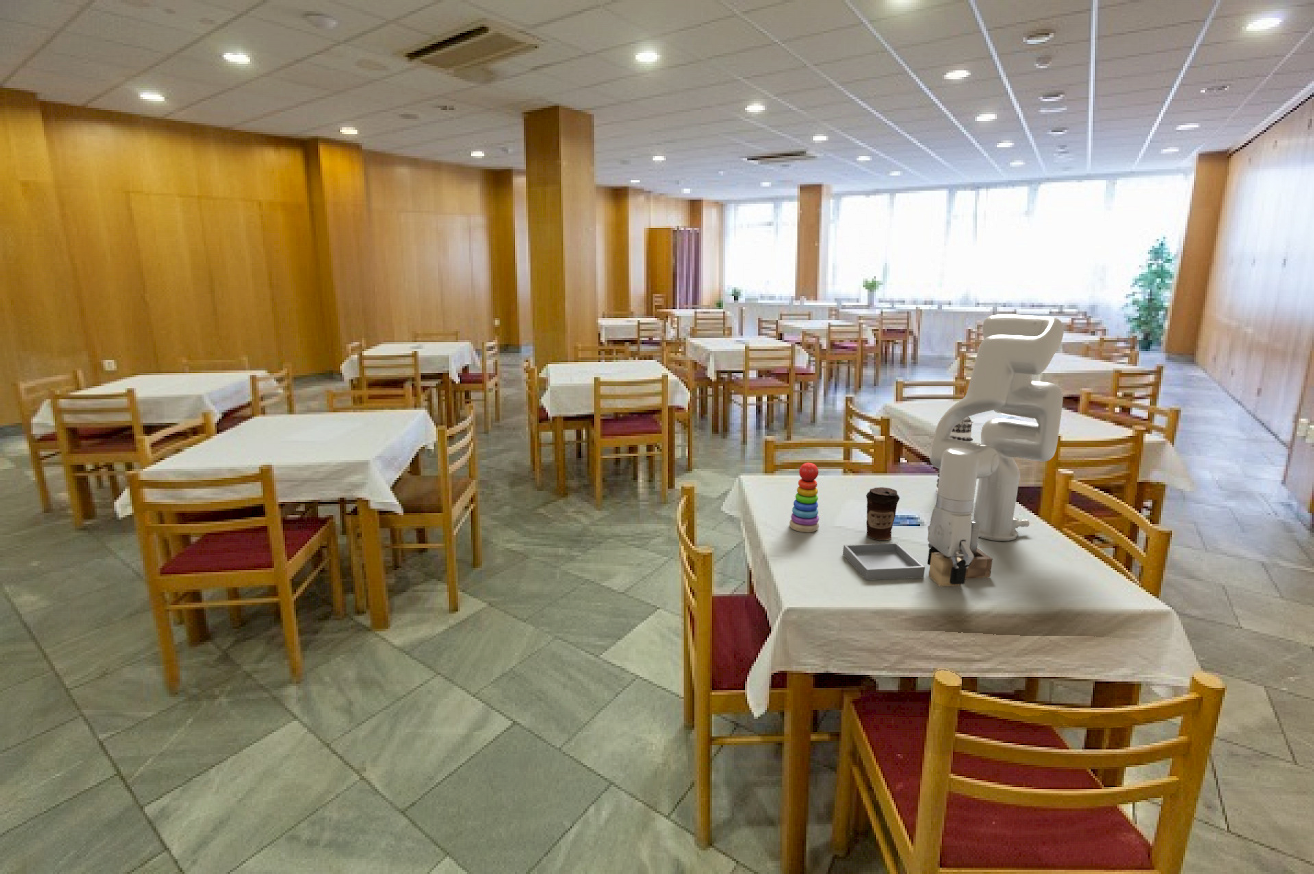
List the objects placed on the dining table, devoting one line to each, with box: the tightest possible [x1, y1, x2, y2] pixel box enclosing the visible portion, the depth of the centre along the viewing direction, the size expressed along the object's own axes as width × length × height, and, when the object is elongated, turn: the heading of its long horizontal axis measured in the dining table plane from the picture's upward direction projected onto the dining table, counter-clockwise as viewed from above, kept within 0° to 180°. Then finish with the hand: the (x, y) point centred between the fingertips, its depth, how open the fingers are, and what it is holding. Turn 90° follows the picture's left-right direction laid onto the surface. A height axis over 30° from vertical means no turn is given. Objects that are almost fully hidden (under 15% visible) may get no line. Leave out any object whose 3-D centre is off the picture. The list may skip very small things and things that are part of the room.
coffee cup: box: [865, 486, 900, 541], centre depth 176 cm, size 9×8×13 cm
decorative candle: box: [935, 416, 974, 492], centre depth 211 cm, size 9×9×25 cm
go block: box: [956, 547, 993, 580], centre depth 157 cm, size 7×7×5 cm
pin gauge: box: [970, 519, 980, 557], centre depth 156 cm, size 3×3×12 cm
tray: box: [842, 542, 926, 581], centre depth 160 cm, size 14×14×3 cm
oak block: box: [928, 552, 962, 587], centre depth 152 cm, size 5×5×6 cm
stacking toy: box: [789, 462, 820, 533], centre depth 181 cm, size 8×8×19 cm
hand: (945, 573), depth 152 cm, fingers open, 9 cm apart
